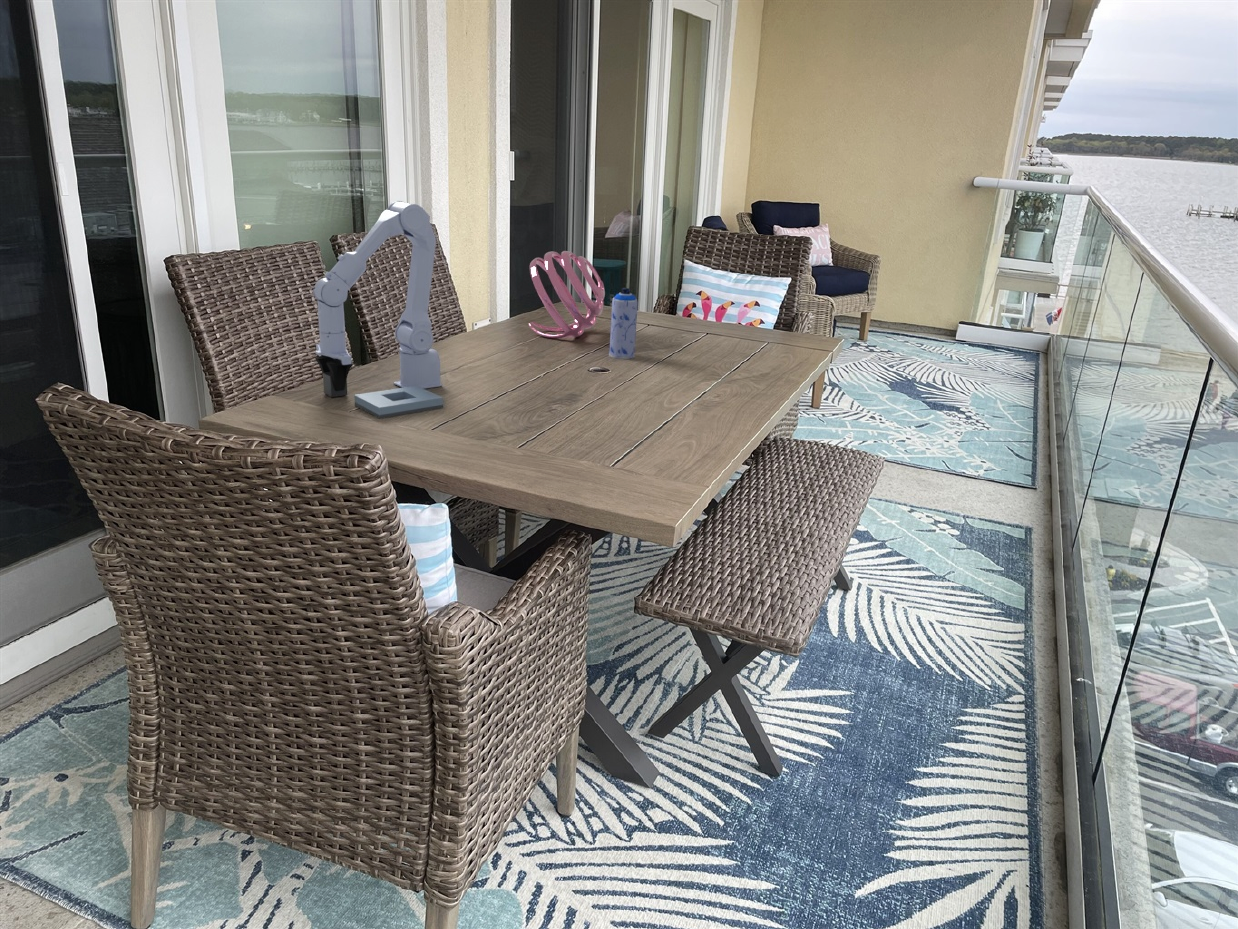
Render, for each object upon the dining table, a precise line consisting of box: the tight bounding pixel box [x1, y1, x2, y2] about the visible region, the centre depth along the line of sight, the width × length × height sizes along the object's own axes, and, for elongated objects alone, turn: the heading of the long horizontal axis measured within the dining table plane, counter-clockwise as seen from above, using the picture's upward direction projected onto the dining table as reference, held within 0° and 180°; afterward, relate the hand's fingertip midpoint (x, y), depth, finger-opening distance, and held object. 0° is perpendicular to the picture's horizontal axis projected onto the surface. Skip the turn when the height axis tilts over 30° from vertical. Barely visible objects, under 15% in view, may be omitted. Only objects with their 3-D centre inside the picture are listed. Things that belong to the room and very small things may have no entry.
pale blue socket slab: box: [354, 386, 444, 419], centre depth 206 cm, size 16×12×2 cm
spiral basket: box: [528, 250, 606, 340], centre depth 286 cm, size 28×28×27 cm
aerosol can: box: [608, 287, 639, 360], centre depth 264 cm, size 8×8×20 cm
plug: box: [322, 372, 349, 398], centre depth 212 cm, size 4×4×5 cm
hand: (335, 388), depth 212 cm, fingers closed on plug, 4 cm apart
